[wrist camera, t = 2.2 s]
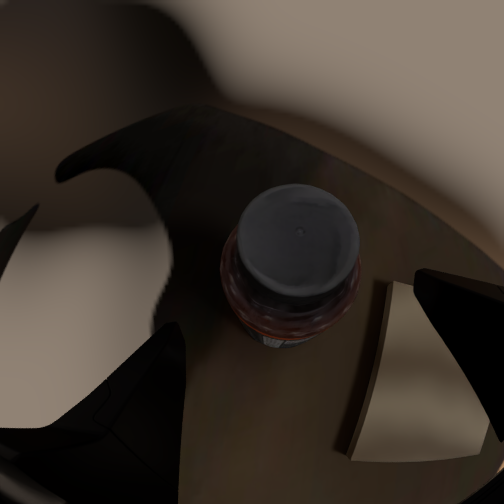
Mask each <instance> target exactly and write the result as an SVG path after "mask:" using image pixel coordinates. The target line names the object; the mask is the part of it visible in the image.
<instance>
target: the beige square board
mask: <svg viewBox="0 0 504 504" xmlns="http://www.w3.org/2000/svg"><path fill="white" fill-rule="evenodd" d="M489 421H490V420H489V418H488V416H487V414H486V412H485V410H484V409H483V407H482V405H481V403H480V401H479V399H478V397H477V395H476V393H475V392H474V390H473V388H472V386H471V385H470V383H469V381H468V380H467V378H466V376H465V375H464V373H463V371H462V370H461V368H460V366H459V365H458V363H457V362H456V360H455V358H454V357H453V355H452V354H451V352H450V351H449V349H448V348H447V346H446V345H445V343H444V342H443V340H442V339H441V337H440V336H439V334H438V333H437V331H436V330H435V329H434V327H433V326H432V324H431V323H430V321H429V319H428V318H427V316H426V314H425V312H424V311H423V309H422V307H421V305H420V304H419V302H418V300H417V299H416V297H415V295H414V293H413V286H410V285H407V284H403V283H399V282H395V281H393V282H392V283H391V284H389V285H388V286H387V293H386V300H385V307H384V314H383V320H382V326H381V331H380V337H379V342H378V347H377V351H376V356H375V361H374V365H373V369H372V373H371V377H370V381H369V385H368V389H367V393H366V396H365V400H364V403H363V406H362V410H361V413H360V416H359V419H358V422H357V426H356V429H355V431H354V434H353V437H352V440H351V443H350V446H349V448H348V451H347V454H346V456H347V457H348V458H349V459H350V460H353V461H369V462H416V461H432V460H442V459H451V458H458V457H465V456H471V455H476V454H479V453H480V450H481V447H482V444H483V441H484V438H485V435H486V432H487V428H488V425H489Z"/></svg>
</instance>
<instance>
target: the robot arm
mask: <svg viewBox="0 0 504 504" xmlns="http://www.w3.org/2000/svg"><path fill="white" fill-rule="evenodd" d="M413 293H414V295H415V297H416V299H417V300H418V302H419V304H420V305H421V307H422V309H423V311H424V312H425V314H426V316H427V318H428V319H429V321H430V323H431V324H432V326H433V327H434V329H435V330H436V331H437V333H438V334H439V336H440V337H441V339H442V340H443V342H444V343H445V345H446V346H447V348H448V349H449V351H450V352H451V354H452V355H453V357H454V358H455V360H456V362H457V363H458V365H459V366H460V368H461V370H462V371H463V373H464V375H465V376H466V378H467V380H468V381H469V383H470V385H471V386H472V388H473V390H474V392H475V393H476V395H477V397H478V399H479V401H480V403H481V405H482V407H483V409H484V410H485V412H486V414H487V416H488V418H489V420H490V422H491V424H492V426H493V428H494V430H495V433H496V435H497V437H498V439H499V441H500V442H503V441H504V287H503V286H499V285H495V284H491V283H487V282H483V281H478V280H474V279H470V278H466V277H462V276H457V275H453V274H449V273H444V272H440V271H436V270H431V269H427V268H423V269H420V270H417V271H416V272H415V278H414V286H413ZM185 389H186V345H185V340H184V337H183V335H182V332H181V330H180V327H179V325H178V323H177V322H169V323H165V324H164V325H163V326H162V327H161V328H160V329H159V330H158V331H157V332H155V333H154V334H153V335H152V336H151V337H150V338H149V339H148V340H147V341H146V342H145V343H144V344H143V345H142V346H141V347H139V349H137V350H136V351H135V352H134V353H133V354H132V355H131V356H130V357H129V358H128V359H127V360H126V361H125V362H123V363H122V364H121V365H120V366H119V367H118V368H117V369H116V370H115V371H114V372H113V373H112V374H111V375H110V376H109V377H107V379H105V380H104V381H103V382H102V383H101V384H100V385H99V386H98V387H97V388H96V389H95V390H94V391H92V392H91V393H90V394H89V395H88V396H87V397H85V398H84V399H83V400H82V401H80V402H79V403H78V404H77V405H75V406H74V407H73V408H72V409H70V410H69V411H68V412H67V413H65V414H64V415H63V416H61V417H60V418H59V419H58V420H56V421H55V422H53V423H52V424H50V425H48V426H45V427H41V428H0V504H178V486H179V464H180V448H181V434H182V421H183V410H184V399H185ZM458 504H504V468H503V469H502V470H501V471H499V472H498V473H497V474H496V475H495V476H494V477H492V478H491V479H490V480H489V481H488V482H486V483H485V484H484V485H483V486H481V487H480V488H479V489H477V490H476V491H475V492H474V493H472V494H471V495H469V496H468V497H467V498H465V499H464V500H462V501H461V502H460V503H458Z"/></svg>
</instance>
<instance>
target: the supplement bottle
mask: <svg viewBox="0 0 504 504" xmlns="http://www.w3.org/2000/svg"><path fill="white" fill-rule="evenodd" d="M359 245H360V242H359V233H358V228H357V225H356V222H355V221H354V219H353V217H352V215H351V213H350V212H349V210H348V209H347V207H346V206H345V205H344V204H343V203H342V202H340V201H339V200H338V199H337V198H336V197H334V196H333V195H332V194H330V193H328V192H326V191H324V190H322V189H319V188H317V187H313V186H310V185H303V184H287V185H281V186H277V187H274V188H271V189H269V190H267V191H265V192H263V193H261V194H259V195H258V196H257V197H256V198H254V199H253V200H252V201H251V202H250V203H249V204H248V205H247V207H246V208H245V210H244V211H243V213H242V215H241V217H240V220H239V222H238V225H237V226H236V227H235V228H234V229H233V231H232V232H231V234H230V235H229V238H228V239H227V241H226V243H225V246H224V248H223V252H222V256H221V262H220V276H221V283H222V287H223V291H224V293H225V296H226V298H227V300H228V302H229V304H230V306H231V308H232V310H233V311H234V312H235V314H236V315H237V317H238V319H239V320H240V322H241V323H242V325H243V327H244V328H245V330H246V331H247V332H248V333H249V335H251V336H252V337H253V339H254V340H257V341H258V342H260V343H263V344H265V345H267V346H271V347H276V348H289V347H294V346H297V345H299V344H302V343H304V342H306V341H308V340H309V339H311V338H313V337H314V336H316V335H318V334H320V333H322V332H323V331H325V330H326V329H328V328H330V327H331V326H333V325H334V324H335V323H336V322H338V321H339V320H340V319H341V318H342V317H343V316H344V314H345V313H346V312H347V311H348V310H349V308H350V307H351V305H352V303H353V302H354V300H355V298H356V296H357V293H358V289H359V286H360V281H361V261H360V256H359Z"/></svg>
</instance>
